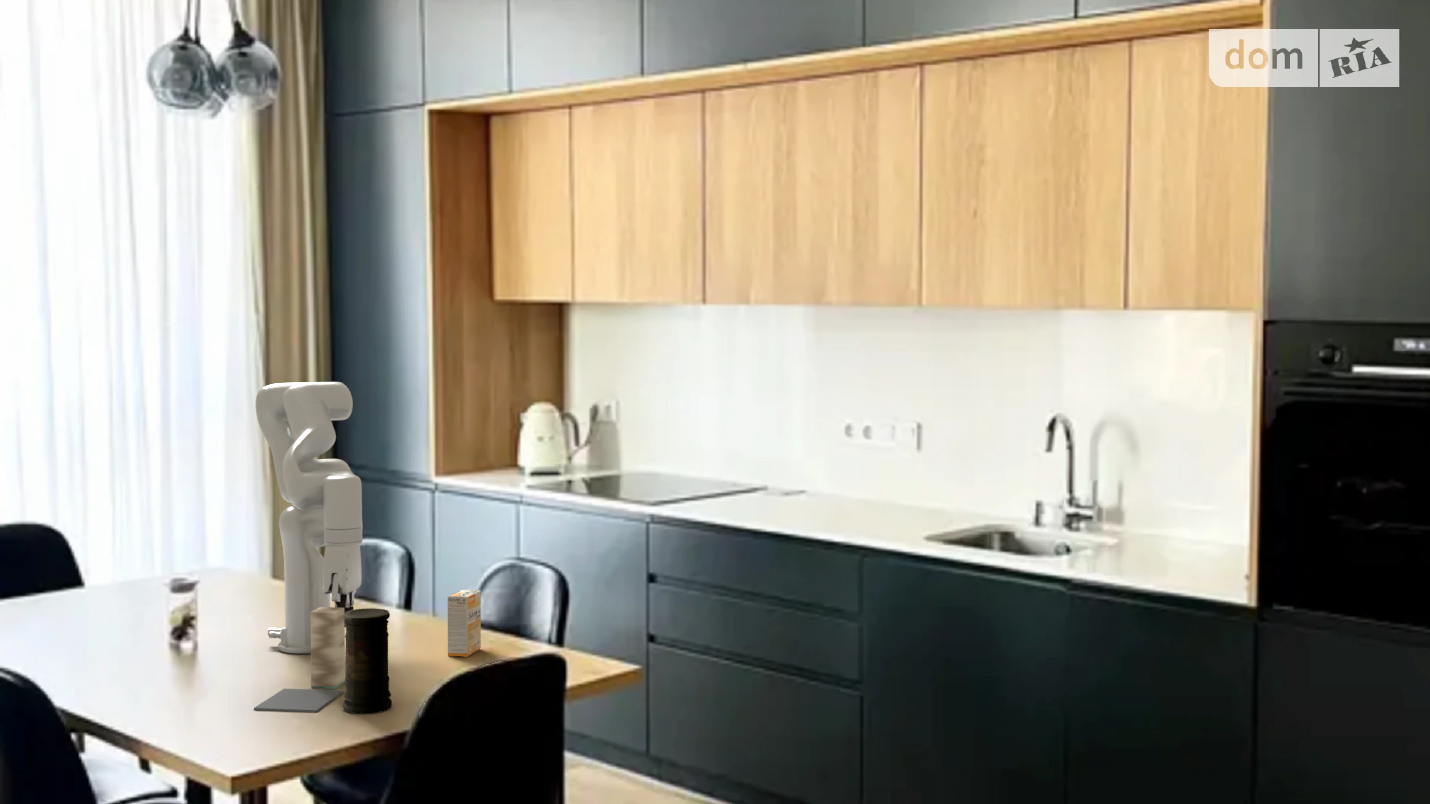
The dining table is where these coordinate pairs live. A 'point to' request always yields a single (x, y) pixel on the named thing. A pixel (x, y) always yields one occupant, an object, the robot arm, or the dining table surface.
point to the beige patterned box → (327, 647)
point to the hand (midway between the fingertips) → (344, 626)
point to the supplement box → (464, 622)
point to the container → (366, 661)
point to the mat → (299, 700)
